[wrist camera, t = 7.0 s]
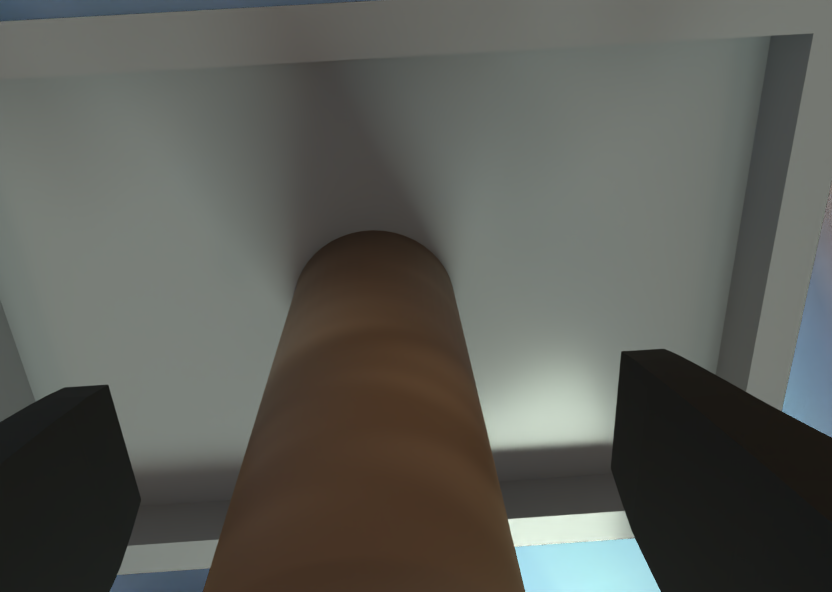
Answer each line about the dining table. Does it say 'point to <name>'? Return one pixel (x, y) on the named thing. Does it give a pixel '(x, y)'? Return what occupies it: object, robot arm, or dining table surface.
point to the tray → (407, 216)
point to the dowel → (369, 441)
